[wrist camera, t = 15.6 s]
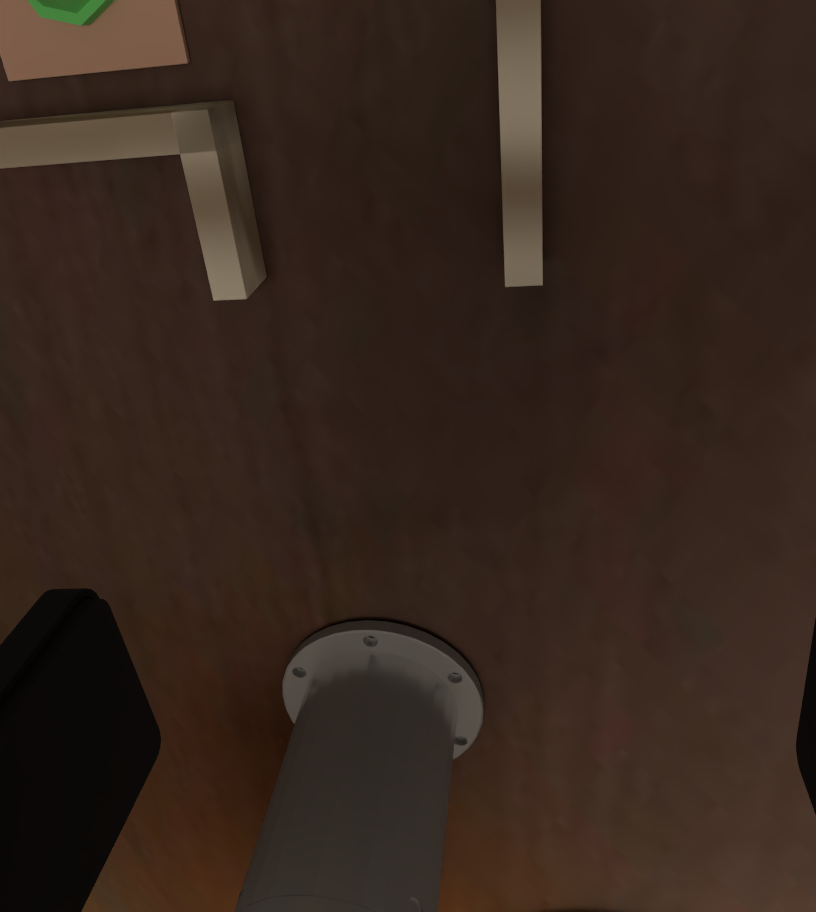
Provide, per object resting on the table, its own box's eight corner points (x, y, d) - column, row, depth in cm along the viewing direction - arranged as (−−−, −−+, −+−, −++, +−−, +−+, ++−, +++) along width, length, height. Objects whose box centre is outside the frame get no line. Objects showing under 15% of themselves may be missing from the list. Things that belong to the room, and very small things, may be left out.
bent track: (541, 262, 34) (542, 285, 31) (59, 287, 38) (24, 309, 35) (537, -382, 24) (537, -425, 21) (-122, -260, 28) (-188, -285, 25)
